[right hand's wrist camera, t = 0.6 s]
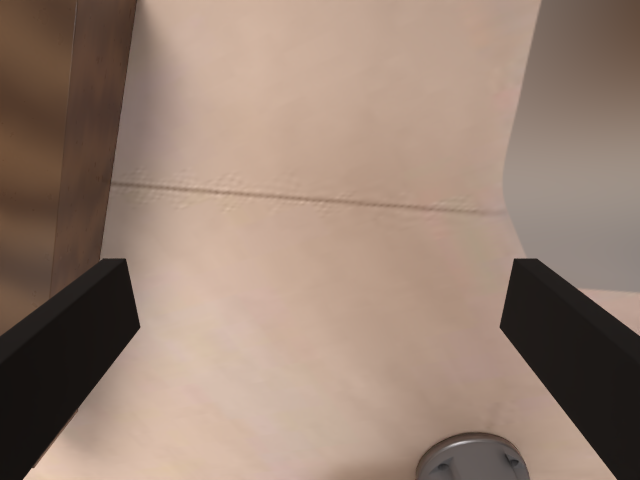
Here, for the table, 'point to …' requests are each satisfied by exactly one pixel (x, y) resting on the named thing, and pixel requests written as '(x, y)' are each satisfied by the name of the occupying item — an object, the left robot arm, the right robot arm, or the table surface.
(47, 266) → the beam
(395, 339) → the table surface
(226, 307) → the table surface
